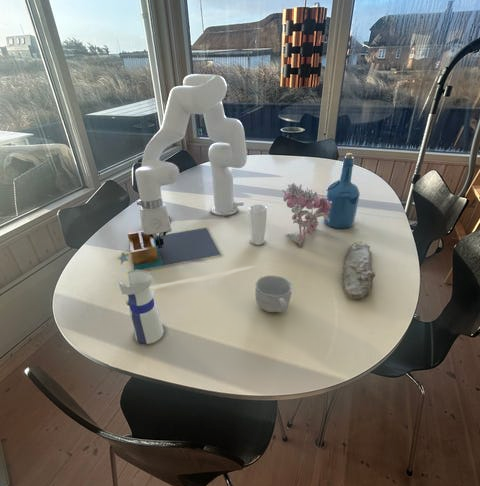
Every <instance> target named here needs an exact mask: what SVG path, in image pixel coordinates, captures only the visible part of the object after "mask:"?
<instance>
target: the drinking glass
mask: <svg viewBox="0 0 480 486" xmlns="http://www.w3.org/2000/svg"><path fill="white" fill-rule="evenodd" d="M267 208H268V207H267V206H266V205H263V204H252V205H250V206H249V207H248V221H249V230H250V243H251V244H252V245H255V246H259V245H260V246H261V245H263V244H264V242H265V234H266V226H267V215H268V212H267V210H268V209H267Z"/></svg>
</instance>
